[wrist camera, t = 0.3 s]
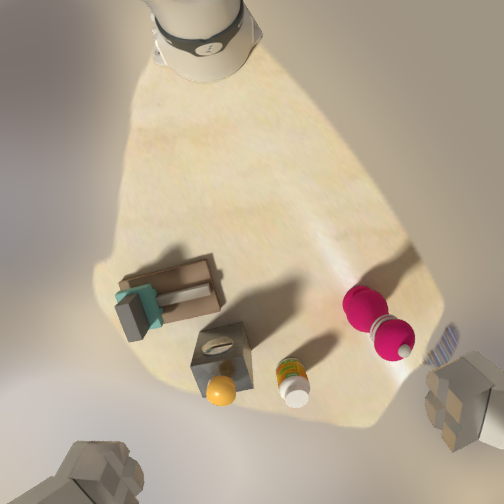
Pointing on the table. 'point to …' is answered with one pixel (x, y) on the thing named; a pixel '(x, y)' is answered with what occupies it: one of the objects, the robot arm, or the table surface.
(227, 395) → the button
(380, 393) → the table surface
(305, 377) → the supplement bottle
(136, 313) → the carriage
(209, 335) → the cabinet
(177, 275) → the rail board
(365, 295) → the pepper mill
